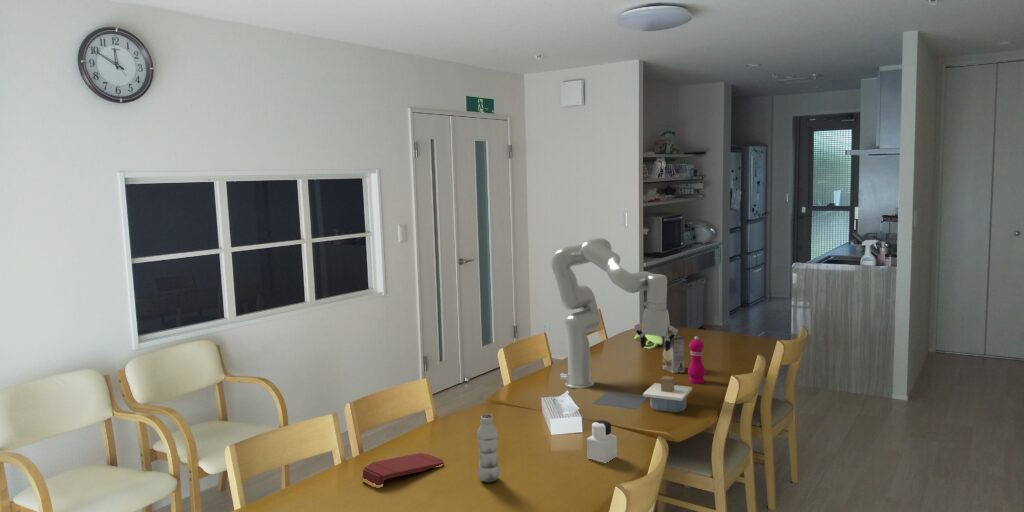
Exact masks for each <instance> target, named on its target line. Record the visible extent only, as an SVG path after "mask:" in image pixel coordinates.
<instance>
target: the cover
mask: <svg viewBox="0 0 1024 512" xmlns="http://www.w3.org/2000/svg"><path fill="white" fill-rule="evenodd" d="M692 391H693V386H685V385H675V376H671V375H670V376H669V375H663V376H662V377H661V378H660V383H659V382H654V383H652V385H651V386H650V387H648V388H647V389H646V390H645V391H644V392H643V393H642V395H643V396H645V397H648V398H650V397H653V398H662V399H670V400H678V401H682V400H683V399H684V398H685V397H686V398H687V396H688V395H689V393H691V392H692Z"/></svg>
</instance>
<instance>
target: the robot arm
mask: <svg viewBox="0 0 1024 512" xmlns="http://www.w3.org/2000/svg"><path fill="white" fill-rule="evenodd" d="M620 262H621V257H620V255H619V254H618V253H616V252H614V251H613V250H612V244H611V243H610V241H608V240H607V239H605V238H601V237H600V238H593V239H587V240H586V241H584V242H583V243H581V244H575V245H569V246H564V247H562V248H559V249H557V251H556V252H555V253H554V254H553V255H552V259H551V268H552V269H551V270H552V272H553V275H554V277H555V280H556V284H557V288H558V289H557V290H558V292H559V297H560V299H561V304H562V306H563V308H564V309H566V310H567V311H572V310H578V311H576V312H572V313H571V314H569V315H568V316H567V317H566V318H565V321H564V330H565V334H566V343H567V345H566V347H567V349H566V350H567V373H562V372H561V373H560V375H559V378H560V379H561V380H565V381H564V386H565V387H567V388H569V389H585V388H586V389H587V388H591V387H592V386H594V385H595V381H594V380H592V379H591V355H590V354H591V353H590V352H591V349H590V346H591V345H590V341H589V338H588V336H587V334H588V333H590V332H593V331H595V330H597V329H598V328H599V327H600V324H601V317H600V313H599V309H598V305H597V301H596V298H595V294H594V292H593V290H592V289H591V288H590V287H589V286H587V285H583V284H580V285H579V283H578V280H577V277H576V273H574V271H573V270H572V269H571V267H574V266H578V265H579V266H581V265H584V264H588V263H592V264H593V265H595V266H597V267H598V268H600V269H601V270H603V271H604V272H605V273H607V276H608V278H609V279H610V281H611V282H612V283H613V284H614V285H615V286H617V287H618V288H619V289H621V290H623V291H625V292H627V293H630V294H635V293H638V292H639V293H640V292H642V291H643V292H644V291H646V301H643V306H645V308H644V310H643V314H642V322H640V323H637V324H634V328H635V331H636V334H637V333H638V335H639V336H640V337H639V338H640V345H641V348H642V349H644V348H643V347H647V345H646V341H647V338H646V336H645V335H646V334H647V335H655V336H661V337H662V336H664V337H665V338H666V340H667V341H666V342H665V351H668V350H669V349H670V347H671V339H673V338H674V337H675V336H676V335H678V333H679V330H678V328H675V327H674V326H672V325H670V314H669V311H668V309H667V301H668V300H667V295H668V294H667V292H668V277H667V276H666V275H665V274H660V273H653V272H649V271H645V270H644V271H638V272H633V273H630V272H629V271H627V270H626V269H624V268H623V267H621V266H620ZM640 327H641V329H640ZM670 331H671V332H672V333H670ZM670 334H672V335H671V336H670Z"/></svg>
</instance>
